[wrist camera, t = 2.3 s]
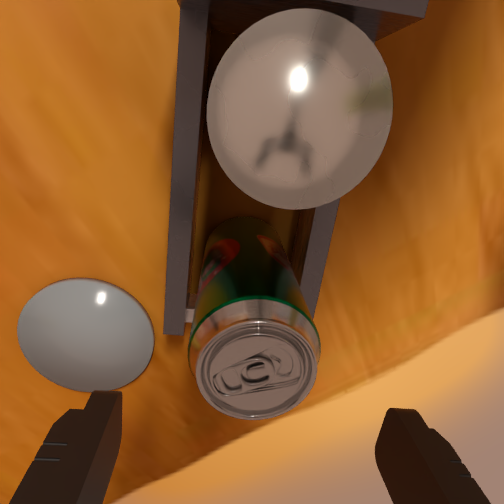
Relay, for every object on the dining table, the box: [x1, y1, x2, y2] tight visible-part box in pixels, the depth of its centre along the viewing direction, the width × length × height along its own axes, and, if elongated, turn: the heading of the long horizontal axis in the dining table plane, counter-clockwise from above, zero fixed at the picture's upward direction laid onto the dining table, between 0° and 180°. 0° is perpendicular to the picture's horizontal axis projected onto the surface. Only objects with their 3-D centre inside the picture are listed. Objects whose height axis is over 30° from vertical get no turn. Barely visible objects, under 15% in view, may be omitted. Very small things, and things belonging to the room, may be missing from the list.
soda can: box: [188, 217, 321, 420], centre depth 18 cm, size 5×5×12 cm
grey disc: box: [17, 278, 155, 392], centre depth 25 cm, size 9×9×1 cm
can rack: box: [163, 0, 429, 336], centre depth 18 cm, size 18×9×8 cm, turn 172°
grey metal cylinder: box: [207, 8, 393, 210], centre depth 15 cm, size 5×5×12 cm
